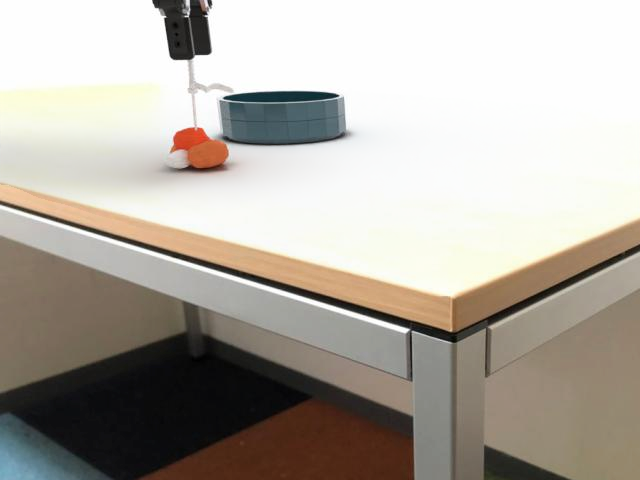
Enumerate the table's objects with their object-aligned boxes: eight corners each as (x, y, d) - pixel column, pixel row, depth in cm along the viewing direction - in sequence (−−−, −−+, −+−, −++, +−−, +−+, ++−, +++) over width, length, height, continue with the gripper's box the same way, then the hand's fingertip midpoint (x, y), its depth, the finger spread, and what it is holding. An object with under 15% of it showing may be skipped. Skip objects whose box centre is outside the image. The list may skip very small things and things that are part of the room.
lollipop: (213, 178, 74) (197, 48, 69) (152, 168, 79) (133, 46, 74) (258, 168, 79) (246, 46, 74) (198, 159, 83) (182, 44, 79)
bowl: (211, 146, 92) (205, 103, 90) (233, 127, 107) (228, 91, 105) (344, 143, 94) (342, 102, 92) (348, 125, 108) (346, 89, 106)
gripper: (145, -120, 74) (171, 54, 80) (97, -149, 61) (133, 62, 67) (222, -120, 75) (241, 53, 81) (191, -148, 62) (217, 61, 68)
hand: (192, 57), depth 74 cm, fingers open, 8 cm apart
